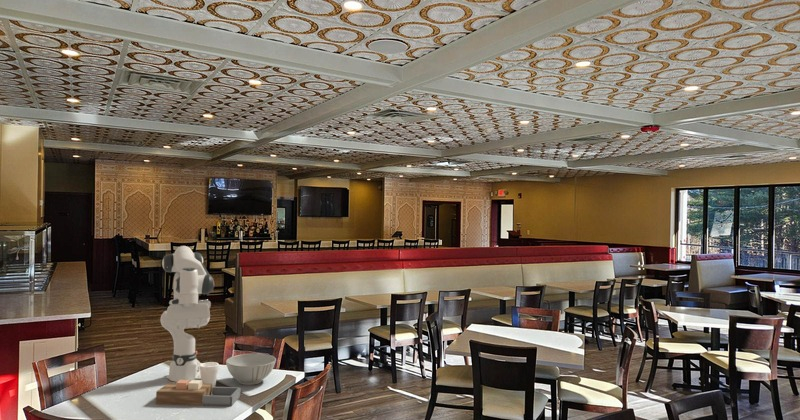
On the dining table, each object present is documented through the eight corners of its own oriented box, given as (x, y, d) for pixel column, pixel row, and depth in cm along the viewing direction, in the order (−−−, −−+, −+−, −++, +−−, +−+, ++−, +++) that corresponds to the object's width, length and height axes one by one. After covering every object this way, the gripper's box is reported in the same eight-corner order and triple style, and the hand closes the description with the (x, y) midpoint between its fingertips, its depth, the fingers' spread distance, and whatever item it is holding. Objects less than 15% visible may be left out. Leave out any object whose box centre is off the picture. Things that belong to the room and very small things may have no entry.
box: (212, 395, 270) (213, 386, 270) (240, 396, 270) (240, 387, 270) (202, 405, 256) (202, 395, 256) (231, 406, 256) (231, 396, 256)
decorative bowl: (268, 390, 281) (268, 367, 281) (217, 388, 281) (218, 365, 281) (280, 375, 307) (281, 354, 308) (234, 373, 308) (235, 352, 308)
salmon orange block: (180, 385, 265) (180, 379, 265) (190, 386, 265) (190, 380, 265) (175, 388, 260) (176, 382, 260) (186, 389, 260) (186, 383, 260)
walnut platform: (168, 394, 270) (168, 382, 270) (211, 395, 270) (212, 383, 270) (155, 404, 256) (156, 391, 256) (201, 405, 256) (202, 392, 256)
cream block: (192, 386, 265) (192, 380, 265) (202, 386, 265) (202, 380, 265) (188, 389, 260) (188, 383, 260) (198, 389, 260) (198, 383, 260)
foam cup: (198, 392, 274) (198, 367, 274) (199, 387, 282) (200, 362, 283) (217, 391, 276) (218, 366, 276) (218, 386, 285) (219, 361, 285)
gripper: (210, 299, 270) (210, 327, 268) (167, 301, 263) (166, 329, 261) (210, 299, 264) (210, 327, 262) (166, 301, 257) (165, 330, 255)
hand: (188, 328), depth 261 cm, fingers open, 8 cm apart
